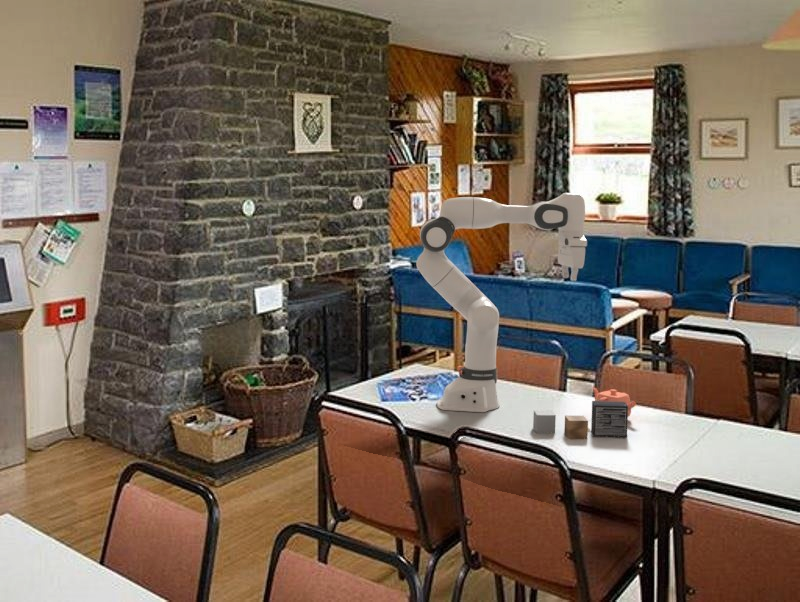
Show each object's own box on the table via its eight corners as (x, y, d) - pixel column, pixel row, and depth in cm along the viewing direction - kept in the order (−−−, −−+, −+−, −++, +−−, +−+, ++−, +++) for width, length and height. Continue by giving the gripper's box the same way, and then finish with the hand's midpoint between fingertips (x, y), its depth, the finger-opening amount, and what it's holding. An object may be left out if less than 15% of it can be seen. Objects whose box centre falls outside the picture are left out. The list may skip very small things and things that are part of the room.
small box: (623, 432, 260) (625, 400, 258) (627, 438, 253) (629, 406, 252) (590, 431, 261) (591, 399, 259) (593, 437, 254) (594, 404, 253)
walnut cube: (568, 439, 252) (568, 420, 251) (564, 433, 258) (565, 415, 257) (587, 439, 252) (588, 420, 251) (583, 433, 258) (583, 415, 257)
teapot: (632, 415, 280) (633, 386, 279) (635, 424, 268) (636, 395, 267) (590, 413, 283) (591, 384, 281) (591, 422, 271) (592, 392, 270)
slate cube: (536, 433, 258) (536, 415, 257) (533, 428, 264) (533, 410, 263) (554, 433, 258) (555, 415, 257) (551, 428, 264) (552, 410, 263)
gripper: (554, 238, 291) (552, 276, 293) (570, 241, 271) (568, 282, 273) (571, 238, 292) (569, 276, 293) (588, 241, 271) (587, 282, 273)
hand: (569, 279), depth 283 cm, fingers open, 8 cm apart
